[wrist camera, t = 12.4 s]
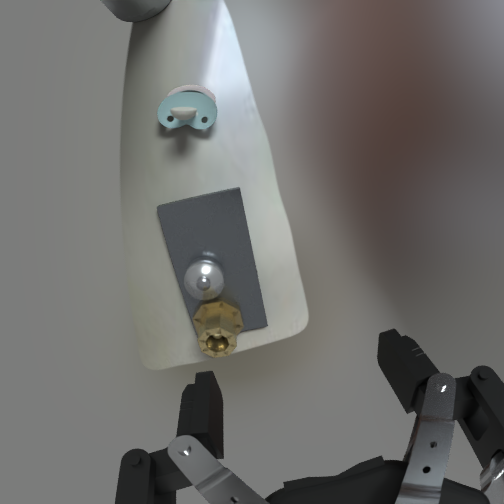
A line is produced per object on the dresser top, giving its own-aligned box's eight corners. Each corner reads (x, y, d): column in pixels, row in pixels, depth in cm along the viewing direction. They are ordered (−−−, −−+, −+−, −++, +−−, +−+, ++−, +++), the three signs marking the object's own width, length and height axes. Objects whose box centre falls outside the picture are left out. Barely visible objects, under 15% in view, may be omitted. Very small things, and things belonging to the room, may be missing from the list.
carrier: (158, 205, 37) (148, 214, 32) (239, 186, 37) (240, 193, 32) (198, 334, 45) (195, 355, 40) (267, 321, 45) (271, 341, 40)
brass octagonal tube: (189, 303, 41) (183, 326, 36) (236, 294, 41) (237, 317, 36) (202, 340, 44) (199, 365, 38) (246, 333, 44) (248, 358, 38)
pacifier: (165, 85, 32) (160, 129, 34) (153, 73, 26) (147, 124, 28) (221, 87, 33) (216, 131, 35) (219, 74, 27) (213, 126, 29)
